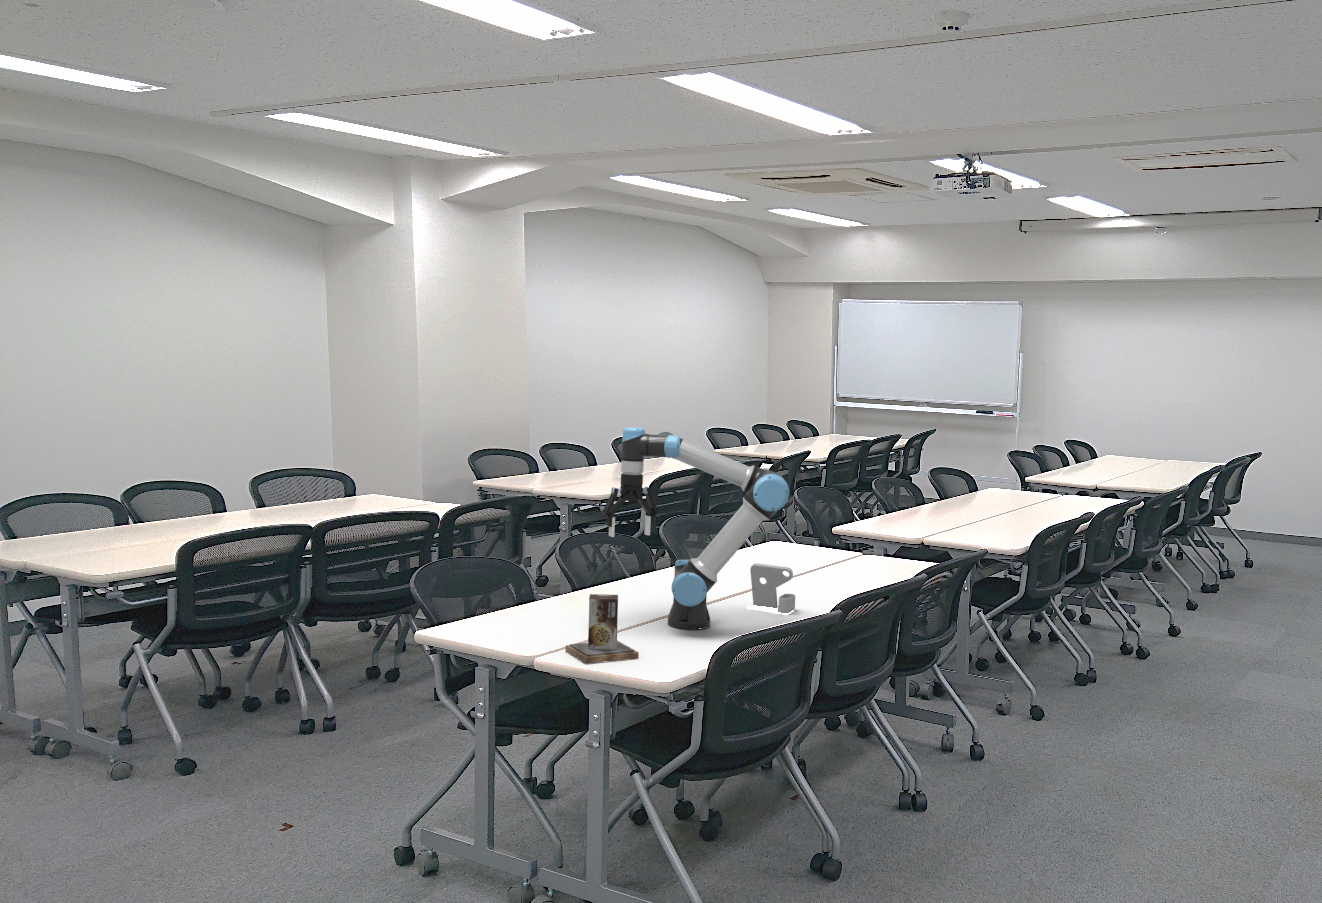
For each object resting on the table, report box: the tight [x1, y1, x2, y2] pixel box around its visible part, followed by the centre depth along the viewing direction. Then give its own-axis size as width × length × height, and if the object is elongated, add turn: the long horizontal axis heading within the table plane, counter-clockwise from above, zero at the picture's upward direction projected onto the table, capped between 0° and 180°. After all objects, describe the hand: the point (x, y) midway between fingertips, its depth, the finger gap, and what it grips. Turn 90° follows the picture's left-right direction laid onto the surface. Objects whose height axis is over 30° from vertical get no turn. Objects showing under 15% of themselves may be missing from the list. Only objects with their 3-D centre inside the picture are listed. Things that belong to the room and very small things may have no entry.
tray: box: [565, 640, 640, 664], centre depth 337 cm, size 18×15×2 cm
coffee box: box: [587, 593, 619, 650], centre depth 336 cm, size 9×6×16 cm
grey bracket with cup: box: [749, 562, 796, 613], centre depth 408 cm, size 17×10×18 cm, turn 65°
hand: (629, 535), depth 366 cm, fingers open, 13 cm apart
